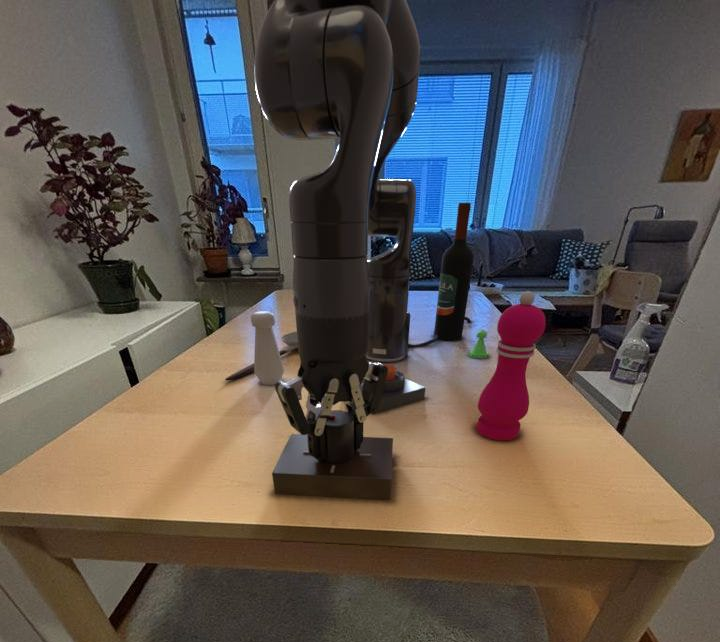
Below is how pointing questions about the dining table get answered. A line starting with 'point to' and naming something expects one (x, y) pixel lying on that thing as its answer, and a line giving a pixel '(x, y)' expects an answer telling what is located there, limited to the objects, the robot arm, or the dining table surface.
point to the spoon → (287, 339)
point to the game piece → (479, 346)
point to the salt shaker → (266, 349)
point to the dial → (339, 436)
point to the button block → (399, 392)
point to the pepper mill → (511, 371)
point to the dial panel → (336, 471)
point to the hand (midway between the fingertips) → (337, 451)
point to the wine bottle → (454, 282)
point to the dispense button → (391, 372)
